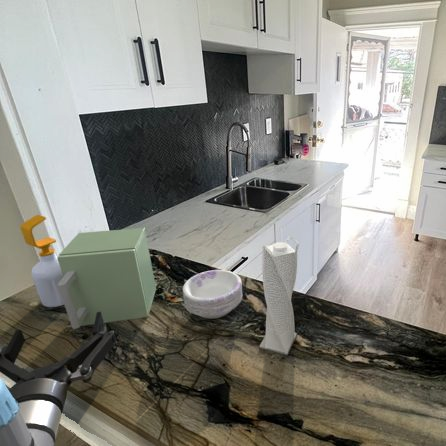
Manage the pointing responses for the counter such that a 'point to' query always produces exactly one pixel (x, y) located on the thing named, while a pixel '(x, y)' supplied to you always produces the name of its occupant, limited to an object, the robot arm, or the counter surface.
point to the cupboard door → (102, 287)
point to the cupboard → (119, 241)
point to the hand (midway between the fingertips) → (62, 325)
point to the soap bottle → (44, 265)
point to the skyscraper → (279, 295)
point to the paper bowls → (212, 293)
